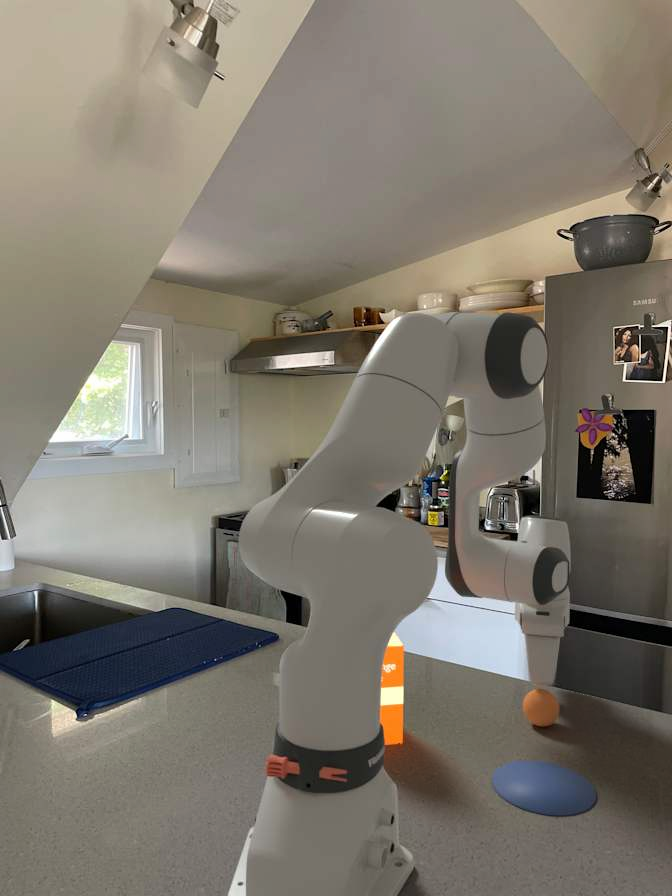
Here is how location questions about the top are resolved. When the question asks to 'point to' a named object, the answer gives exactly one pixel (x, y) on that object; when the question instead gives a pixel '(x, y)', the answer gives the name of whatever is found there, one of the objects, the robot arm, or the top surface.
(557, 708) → the ball
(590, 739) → the top surface
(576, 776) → the blue flat disc
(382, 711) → the orange juice
